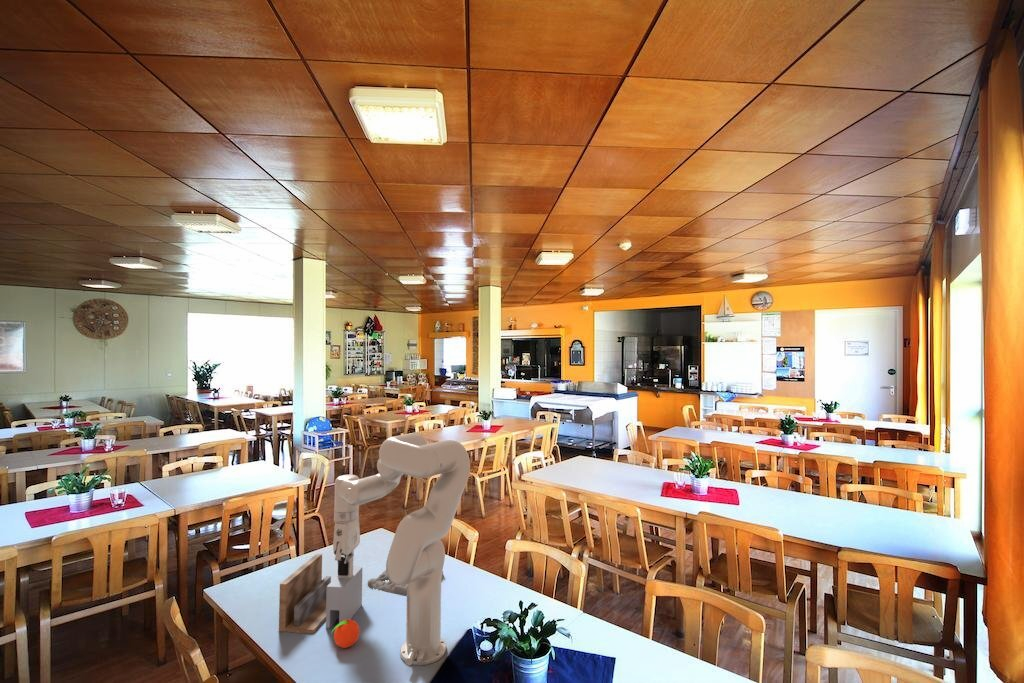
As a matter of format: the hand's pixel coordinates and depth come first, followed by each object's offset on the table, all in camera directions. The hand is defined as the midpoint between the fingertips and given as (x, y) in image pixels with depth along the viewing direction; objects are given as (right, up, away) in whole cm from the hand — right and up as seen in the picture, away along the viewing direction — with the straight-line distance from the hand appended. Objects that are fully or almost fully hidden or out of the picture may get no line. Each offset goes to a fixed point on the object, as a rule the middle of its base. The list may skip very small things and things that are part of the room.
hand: (345, 572), depth 150 cm
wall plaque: (+14, -15, +23) cm, 31 cm away
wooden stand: (-11, -14, +2) cm, 18 cm away
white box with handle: (0, -14, -1) cm, 14 cm away
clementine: (+6, -13, -16) cm, 22 cm away
